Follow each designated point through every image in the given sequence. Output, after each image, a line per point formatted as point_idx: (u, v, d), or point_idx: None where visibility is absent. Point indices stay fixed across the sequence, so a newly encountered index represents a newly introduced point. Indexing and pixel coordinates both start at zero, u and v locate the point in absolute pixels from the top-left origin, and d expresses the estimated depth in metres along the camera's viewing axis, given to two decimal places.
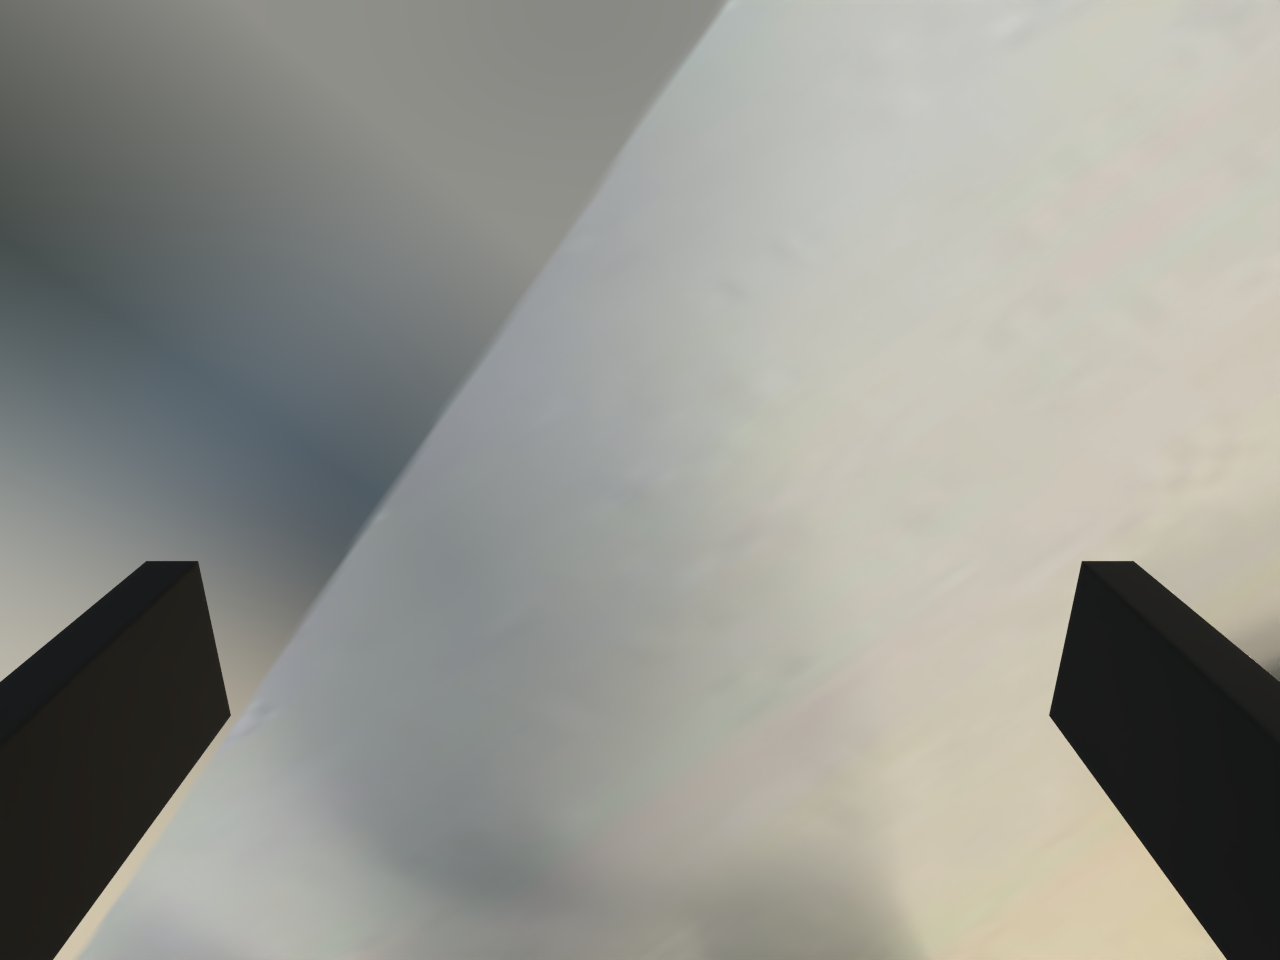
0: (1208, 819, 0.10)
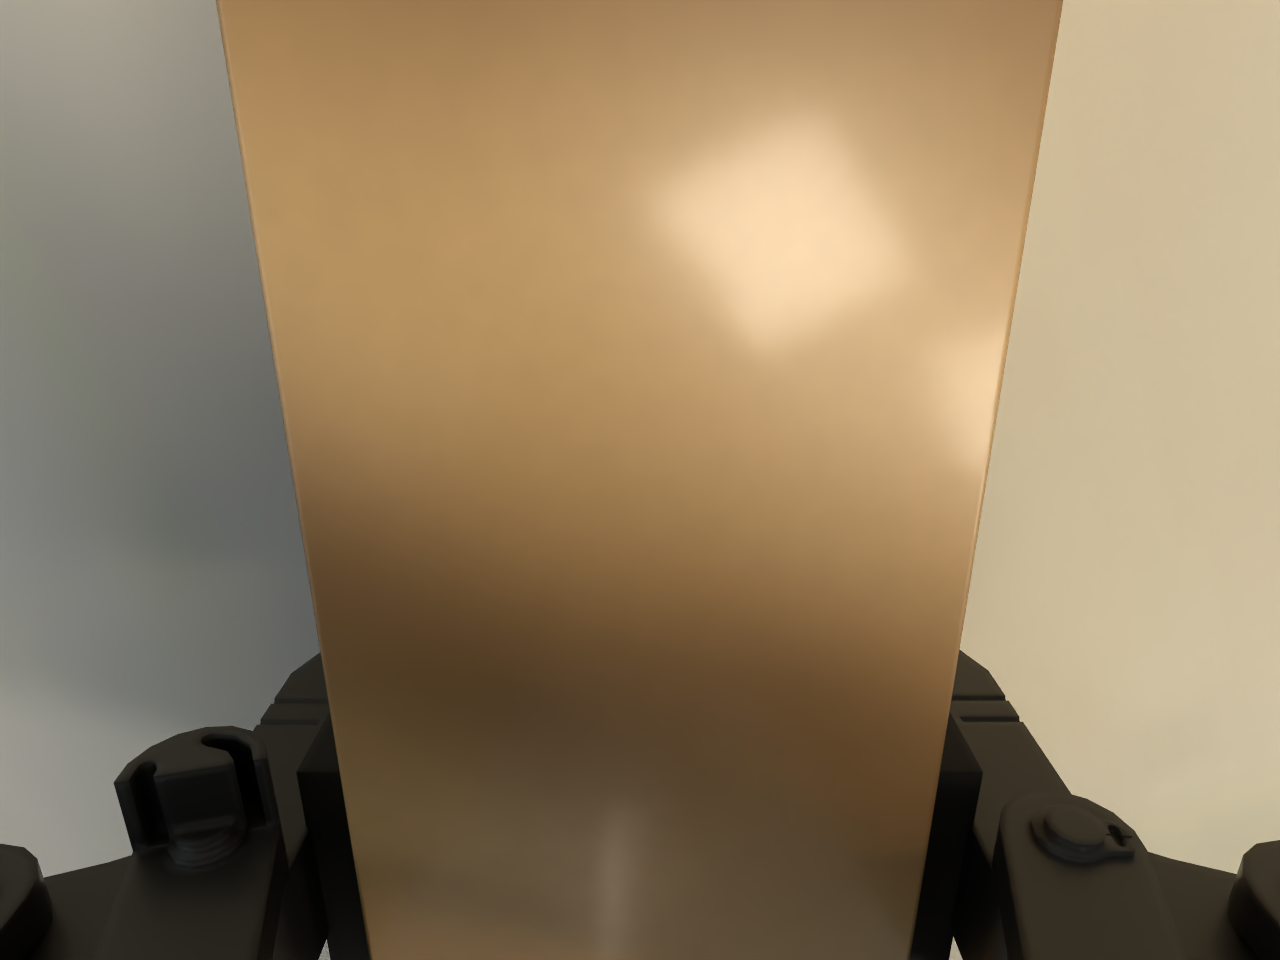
0: None
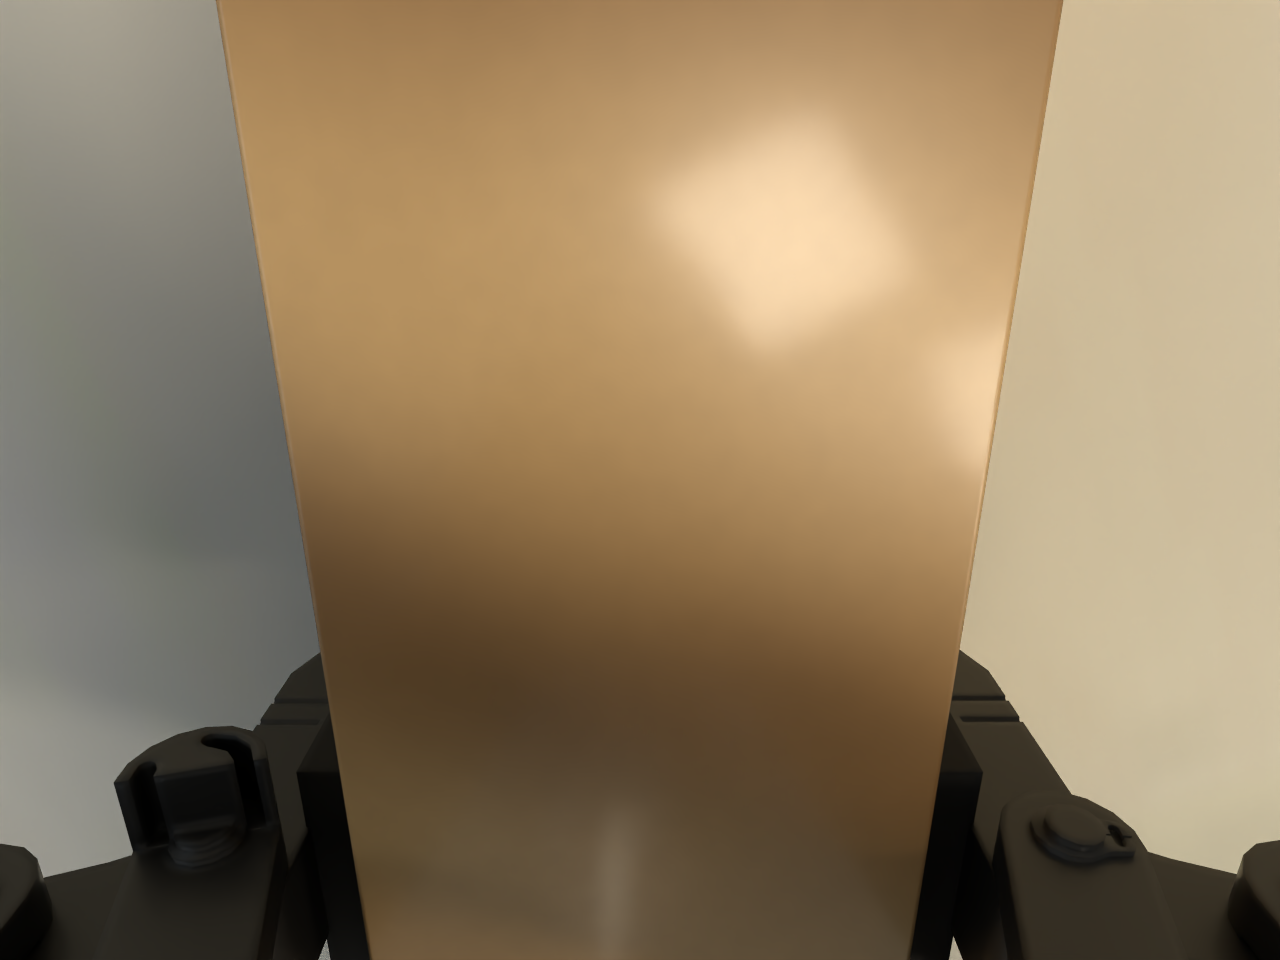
0: None
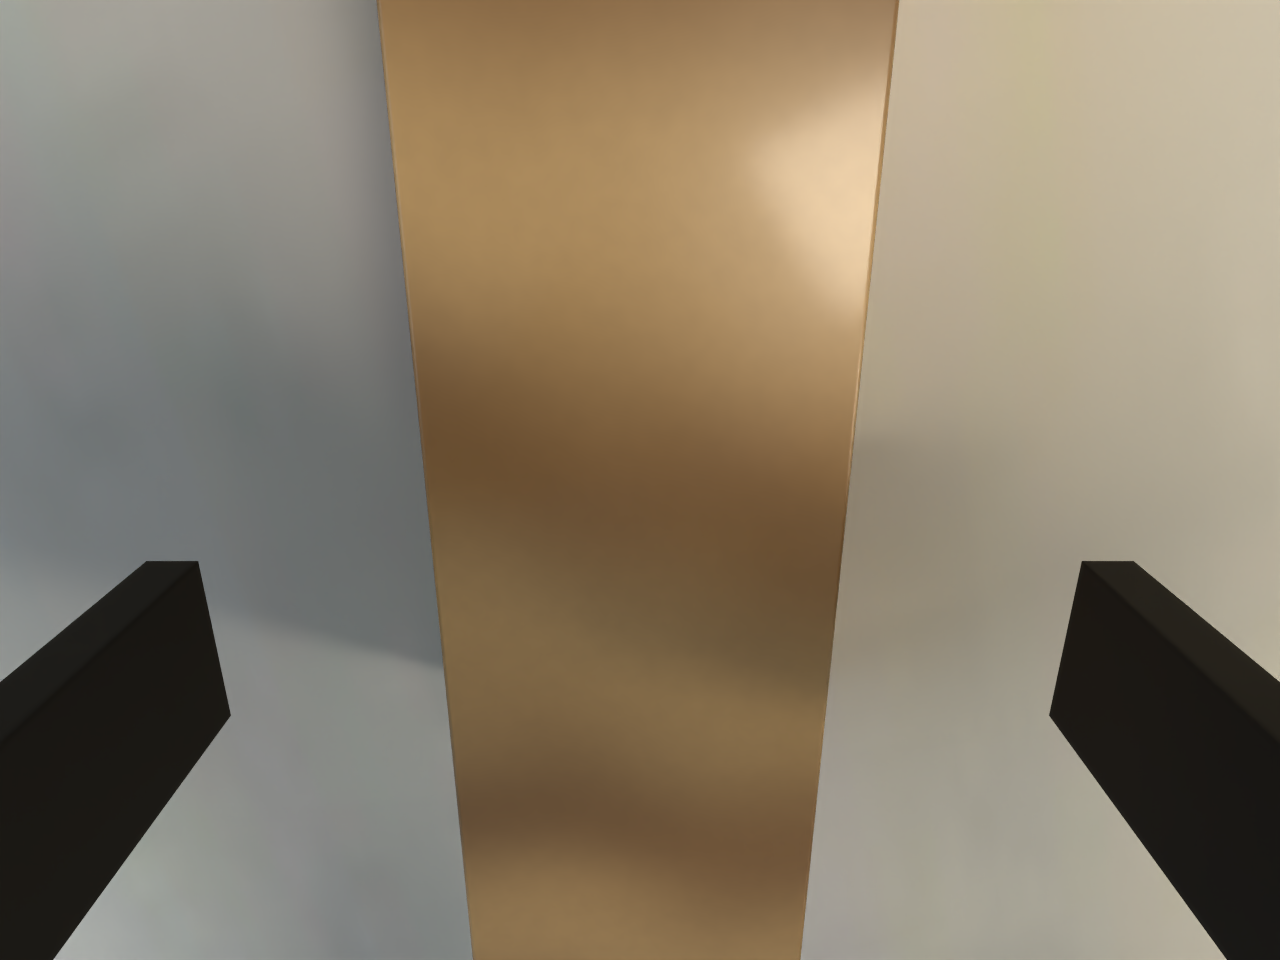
0: (1208, 819, 0.10)
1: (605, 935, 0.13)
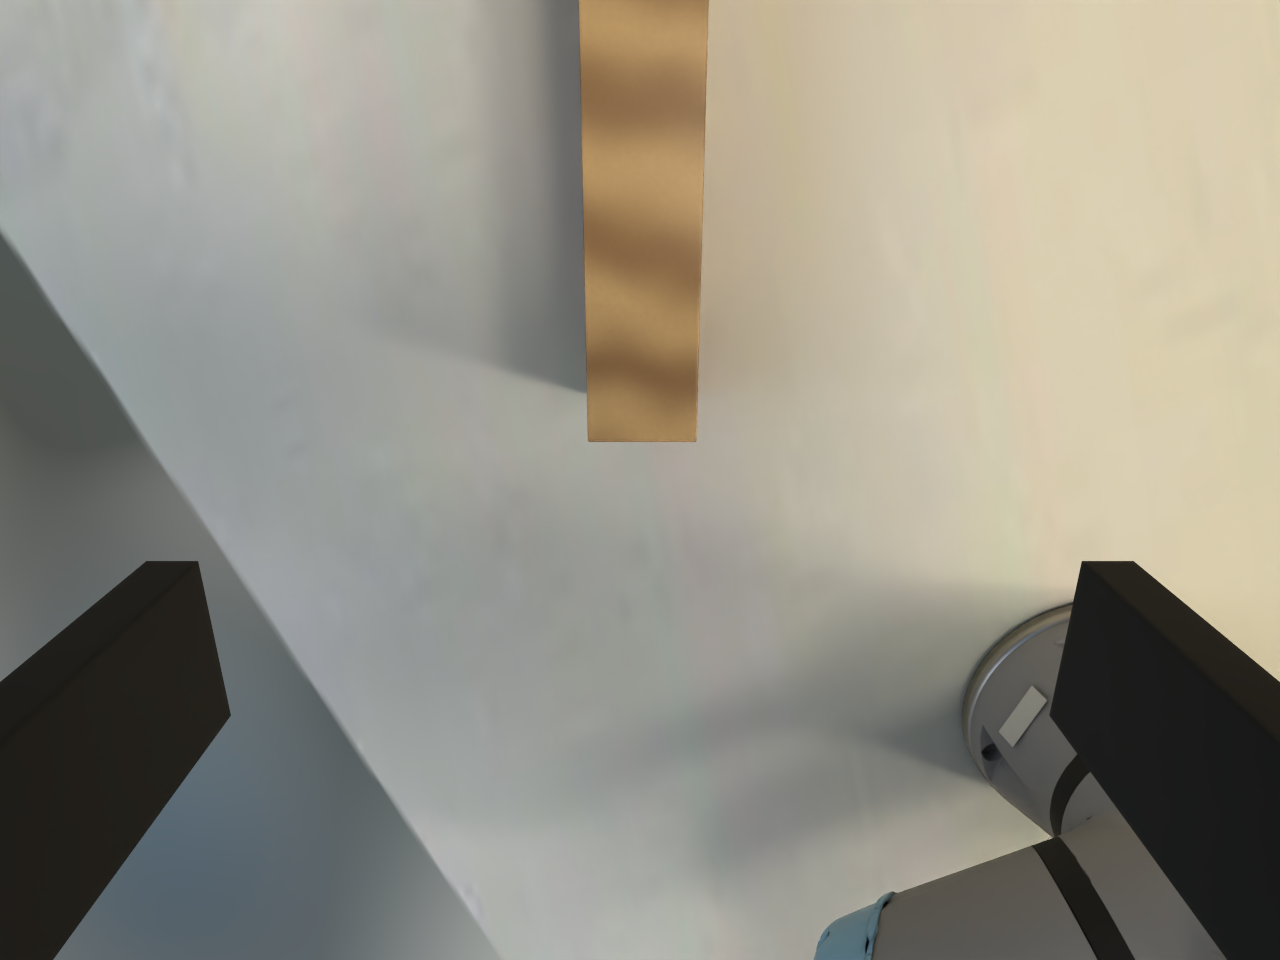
0: (1208, 819, 0.10)
1: (631, 416, 0.39)
